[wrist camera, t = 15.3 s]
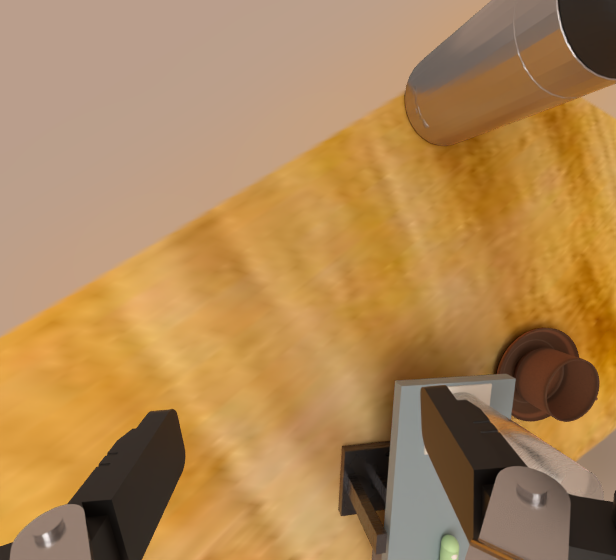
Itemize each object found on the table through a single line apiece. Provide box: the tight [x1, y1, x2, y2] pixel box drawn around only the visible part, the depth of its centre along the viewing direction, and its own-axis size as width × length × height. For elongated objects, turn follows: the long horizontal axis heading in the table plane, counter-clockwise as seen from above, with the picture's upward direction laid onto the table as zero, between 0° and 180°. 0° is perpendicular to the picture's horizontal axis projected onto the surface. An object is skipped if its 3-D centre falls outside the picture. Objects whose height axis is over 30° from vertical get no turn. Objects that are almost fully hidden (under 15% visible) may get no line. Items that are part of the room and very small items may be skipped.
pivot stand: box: [338, 441, 391, 555], centre depth 38 cm, size 8×16×9 cm, turn 88°
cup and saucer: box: [497, 328, 599, 422], centre depth 42 cm, size 12×12×6 cm
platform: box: [372, 374, 516, 560], centre depth 35 cm, size 25×12×7 cm, turn 178°
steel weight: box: [453, 392, 604, 500], centre depth 27 cm, size 5×5×11 cm
